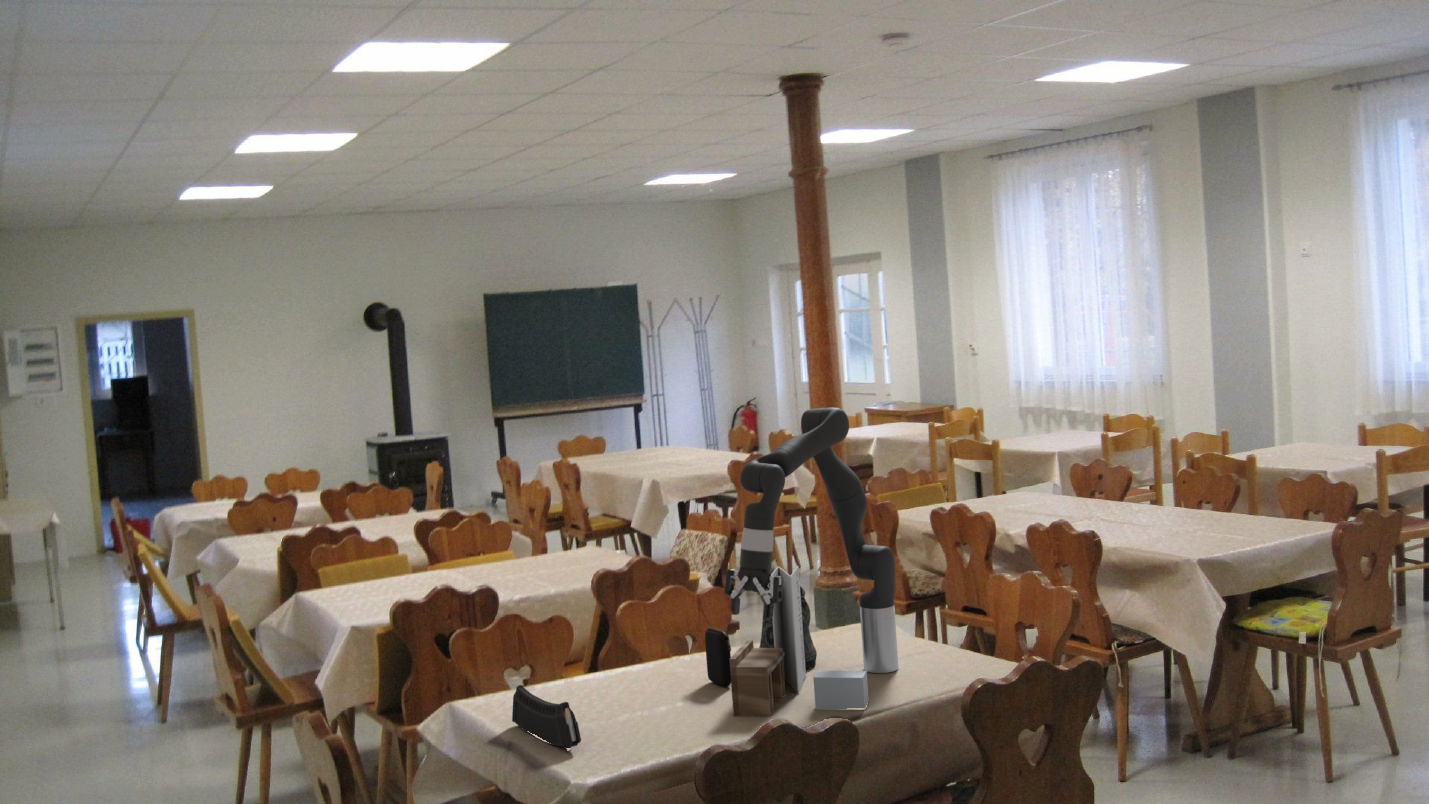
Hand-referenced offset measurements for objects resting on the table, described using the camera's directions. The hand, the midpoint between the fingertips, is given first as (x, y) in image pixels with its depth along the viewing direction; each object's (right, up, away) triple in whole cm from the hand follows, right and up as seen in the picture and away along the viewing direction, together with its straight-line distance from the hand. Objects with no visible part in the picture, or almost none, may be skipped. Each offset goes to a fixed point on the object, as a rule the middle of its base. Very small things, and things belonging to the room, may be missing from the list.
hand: (751, 617), depth 288 cm
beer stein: (+13, -22, +50) cm, 56 cm away
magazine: (-48, -29, +1) cm, 56 cm away
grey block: (+22, -24, +10) cm, 34 cm away
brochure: (+12, -23, +31) cm, 40 cm away
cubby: (+3, -24, +15) cm, 29 cm away
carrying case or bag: (-7, -24, +36) cm, 44 cm away
